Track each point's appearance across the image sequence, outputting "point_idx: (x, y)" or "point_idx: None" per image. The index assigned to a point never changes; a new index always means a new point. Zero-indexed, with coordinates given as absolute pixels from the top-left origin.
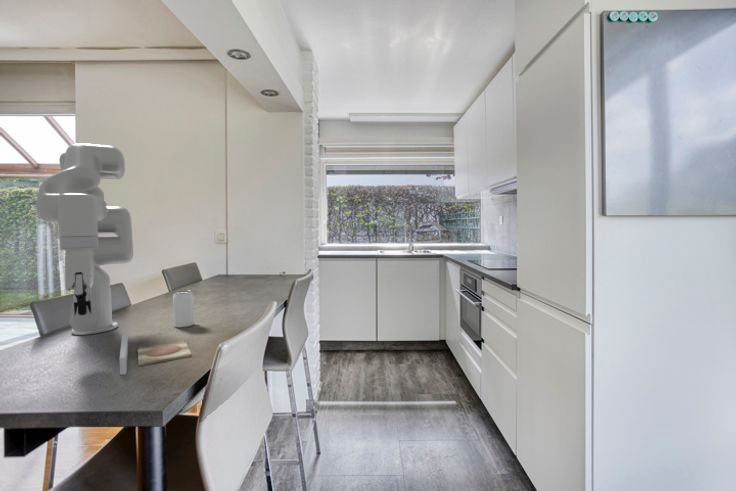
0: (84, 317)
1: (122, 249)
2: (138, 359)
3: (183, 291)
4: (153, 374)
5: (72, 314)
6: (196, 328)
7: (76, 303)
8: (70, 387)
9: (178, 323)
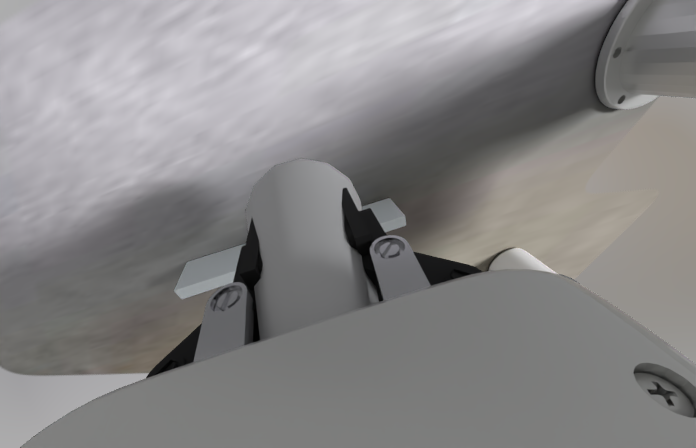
0: None
1: None
2: None
3: None
4: (185, 313)
5: (261, 207)
6: None
7: (248, 277)
8: (107, 188)
9: (500, 265)
